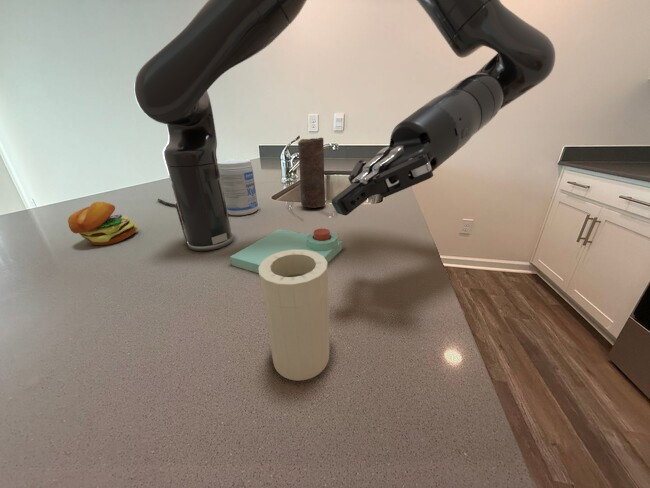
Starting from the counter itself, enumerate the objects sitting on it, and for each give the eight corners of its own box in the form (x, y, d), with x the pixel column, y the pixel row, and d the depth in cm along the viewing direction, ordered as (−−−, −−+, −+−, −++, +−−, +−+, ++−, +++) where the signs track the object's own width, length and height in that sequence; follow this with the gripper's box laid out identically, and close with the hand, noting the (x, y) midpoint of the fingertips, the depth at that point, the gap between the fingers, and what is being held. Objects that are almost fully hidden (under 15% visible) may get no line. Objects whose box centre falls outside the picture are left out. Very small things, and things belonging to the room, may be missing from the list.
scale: (231, 265, 48) (228, 248, 47) (280, 236, 60) (278, 222, 59) (303, 287, 42) (302, 268, 40) (342, 249, 53) (342, 233, 52)
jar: (261, 366, 28) (243, 273, 23) (294, 328, 33) (285, 244, 28) (311, 391, 25) (303, 291, 20) (338, 345, 31) (338, 256, 25)
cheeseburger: (146, 235, 62) (119, 199, 56) (96, 261, 56) (61, 223, 51) (134, 225, 68) (109, 191, 62) (88, 247, 63) (56, 212, 57)
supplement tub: (258, 214, 75) (251, 162, 68) (224, 218, 73) (213, 164, 67) (258, 205, 83) (251, 157, 77) (227, 208, 82) (218, 159, 75)
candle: (322, 211, 76) (320, 138, 67) (298, 210, 77) (293, 139, 69) (327, 204, 83) (326, 136, 74) (305, 203, 84) (301, 137, 75)
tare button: (310, 240, 50) (310, 233, 50) (318, 234, 53) (318, 227, 52) (325, 243, 49) (325, 235, 48) (332, 237, 52) (332, 229, 51)
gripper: (390, 115, 38) (300, 180, 34) (476, 90, 27) (355, 182, 23) (407, 160, 42) (326, 224, 38) (489, 155, 30) (386, 246, 26)
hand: (337, 208), depth 30 cm, fingers closed
